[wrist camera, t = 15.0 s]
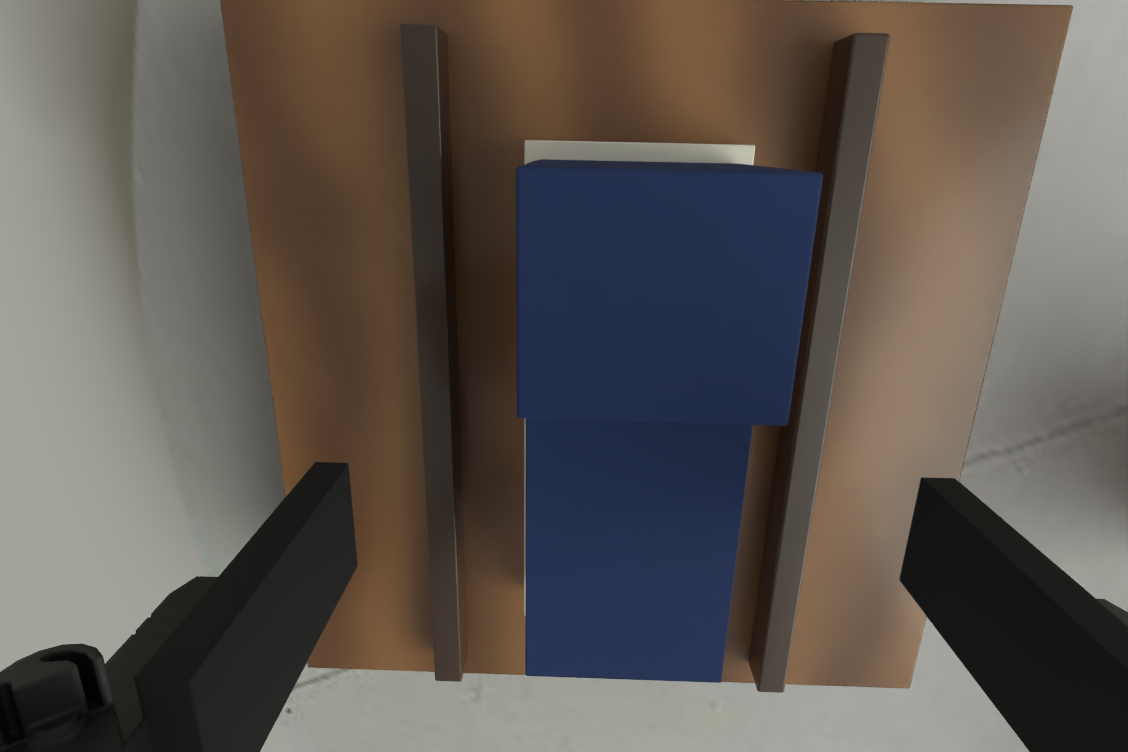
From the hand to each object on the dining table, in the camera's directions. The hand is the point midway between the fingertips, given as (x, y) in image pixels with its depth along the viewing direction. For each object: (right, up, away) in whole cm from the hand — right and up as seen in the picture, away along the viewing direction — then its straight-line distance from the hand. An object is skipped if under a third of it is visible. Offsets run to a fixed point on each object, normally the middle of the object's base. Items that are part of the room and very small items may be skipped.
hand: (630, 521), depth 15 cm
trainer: (0, +3, +7) cm, 8 cm away
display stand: (+1, +5, +13) cm, 14 cm away
